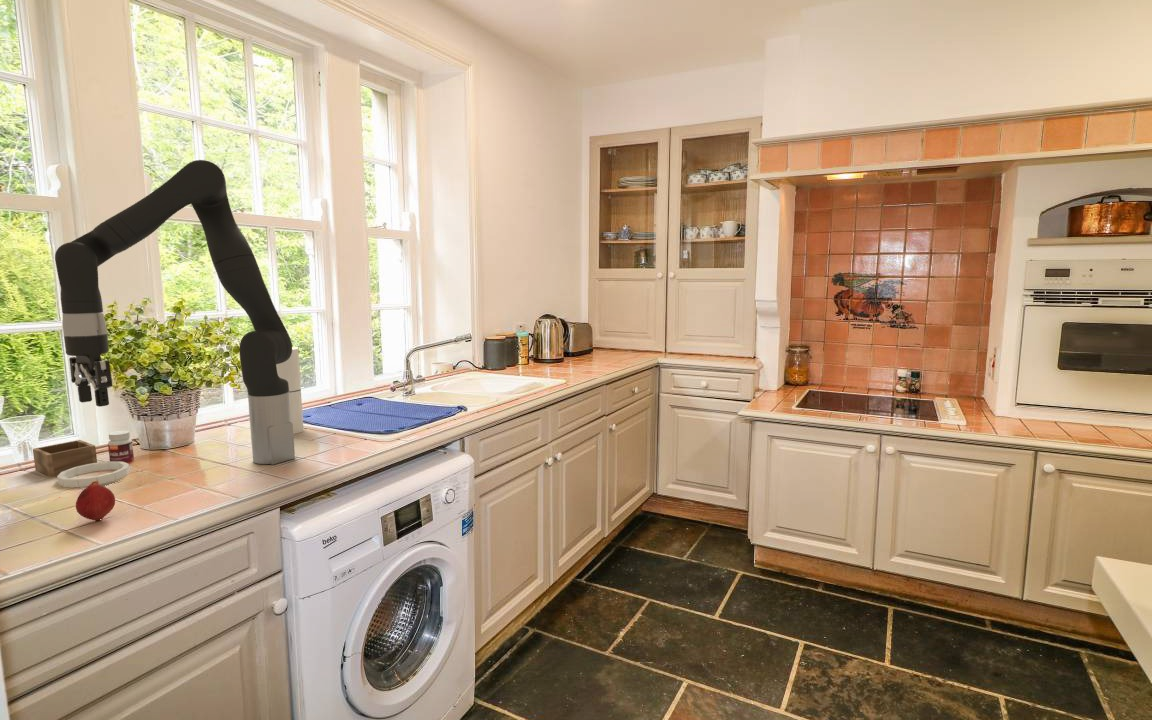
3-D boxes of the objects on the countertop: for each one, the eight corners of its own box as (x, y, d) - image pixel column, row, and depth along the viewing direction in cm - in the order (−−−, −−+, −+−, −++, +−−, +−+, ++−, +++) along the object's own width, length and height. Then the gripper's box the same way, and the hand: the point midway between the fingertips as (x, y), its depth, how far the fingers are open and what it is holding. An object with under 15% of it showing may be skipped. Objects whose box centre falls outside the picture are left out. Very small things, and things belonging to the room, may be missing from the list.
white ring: (139, 477, 137) (137, 467, 137) (72, 494, 127) (71, 483, 126) (115, 468, 144) (114, 458, 143) (50, 483, 133) (49, 472, 133)
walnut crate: (98, 469, 143) (95, 445, 142) (50, 480, 135) (47, 455, 134) (82, 463, 147) (79, 439, 146) (35, 473, 140) (32, 448, 139)
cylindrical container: (284, 435, 172) (278, 351, 169) (272, 431, 177) (266, 348, 173) (308, 430, 178) (302, 348, 174) (296, 426, 182) (290, 346, 179)
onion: (85, 530, 110) (80, 488, 108) (73, 522, 113) (67, 482, 111) (122, 519, 114) (117, 479, 113) (109, 512, 117) (104, 473, 116)
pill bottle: (108, 470, 142) (104, 436, 141) (112, 464, 147) (109, 431, 145) (132, 467, 145) (129, 433, 143) (136, 461, 149) (132, 429, 147)
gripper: (120, 333, 132) (128, 404, 134) (91, 330, 139) (99, 397, 142) (79, 336, 126) (88, 410, 128) (51, 332, 133) (60, 403, 135)
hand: (94, 403), depth 135 cm, fingers open, 8 cm apart
